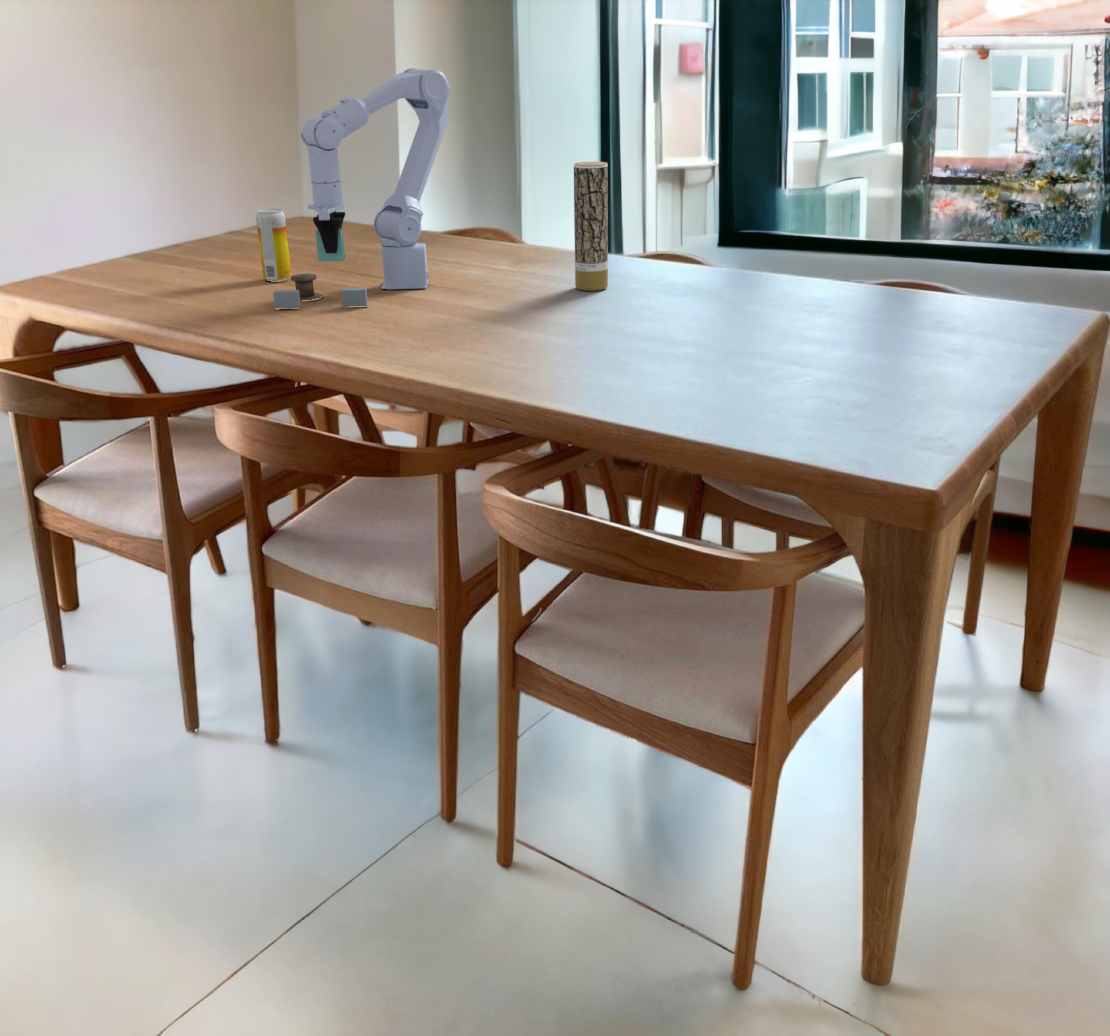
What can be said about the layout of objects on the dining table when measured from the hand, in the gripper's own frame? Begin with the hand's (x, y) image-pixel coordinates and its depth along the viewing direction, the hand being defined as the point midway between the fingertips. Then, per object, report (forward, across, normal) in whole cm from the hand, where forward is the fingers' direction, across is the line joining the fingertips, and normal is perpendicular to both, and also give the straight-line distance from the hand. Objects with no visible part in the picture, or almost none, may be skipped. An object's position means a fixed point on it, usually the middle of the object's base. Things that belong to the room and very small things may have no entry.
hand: (332, 251), depth 231 cm
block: (+2, 0, 0) cm, 2 cm away
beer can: (+10, -19, -16) cm, 26 cm away
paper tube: (+10, -1, +53) cm, 53 cm away
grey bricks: (+9, +9, -2) cm, 13 cm away
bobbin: (+9, 0, -6) cm, 11 cm away
